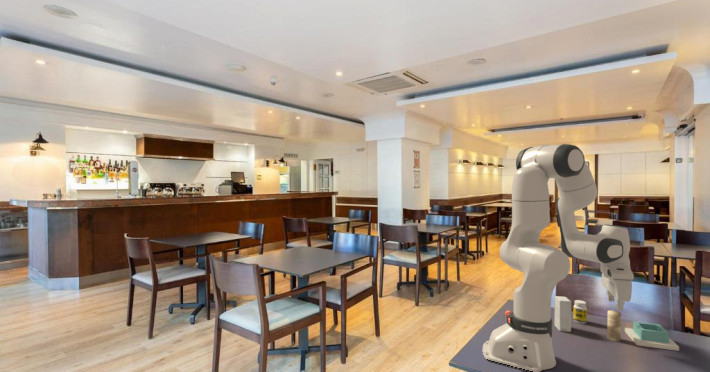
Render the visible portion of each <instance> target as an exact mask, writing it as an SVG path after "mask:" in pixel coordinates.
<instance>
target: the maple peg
mask: <svg viewBox="0 0 710 372" xmlns="http://www.w3.org/2000/svg"><path fill="white" fill-rule="evenodd" d="M606 320H607V321H606V322H607V324H606V325H607V335H606V337H607V339H608V340H609V341H612V342H621V340H622V339H621V338H622V337H621V336H622V330H621V329H622V328H621V327H622V312H621V311H620V312H619V311H618V310H617V311H616V310H612V309H611V310H607V319H606Z"/></svg>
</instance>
